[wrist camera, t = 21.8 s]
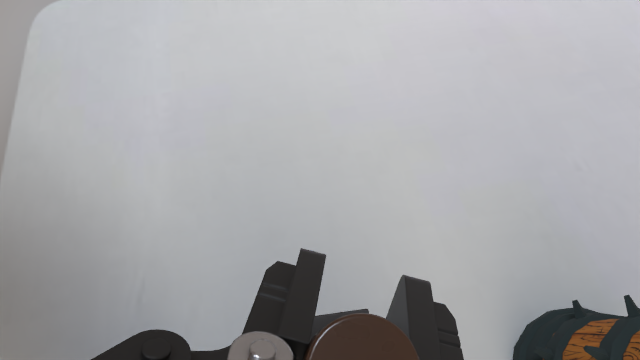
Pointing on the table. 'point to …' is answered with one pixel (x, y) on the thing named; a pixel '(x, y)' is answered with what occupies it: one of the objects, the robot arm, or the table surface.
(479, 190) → the table surface
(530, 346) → the mug
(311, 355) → the cylinder on square base
